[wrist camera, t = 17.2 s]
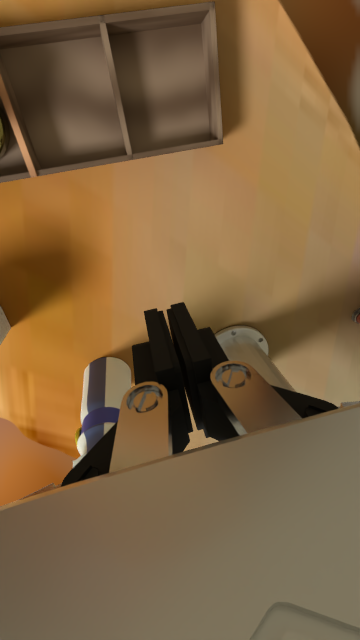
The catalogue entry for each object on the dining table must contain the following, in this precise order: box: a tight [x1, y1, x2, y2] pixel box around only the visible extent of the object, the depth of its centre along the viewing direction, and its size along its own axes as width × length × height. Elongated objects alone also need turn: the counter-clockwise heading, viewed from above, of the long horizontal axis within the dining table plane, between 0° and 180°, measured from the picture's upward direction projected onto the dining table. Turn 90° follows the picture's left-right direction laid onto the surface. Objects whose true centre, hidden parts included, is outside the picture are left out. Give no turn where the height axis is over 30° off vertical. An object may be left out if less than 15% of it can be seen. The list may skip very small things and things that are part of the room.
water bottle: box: [73, 357, 131, 467], centre depth 37 cm, size 8×8×25 cm
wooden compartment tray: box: [0, 2, 223, 183], centre depth 28 cm, size 11×31×4 cm, turn 98°
